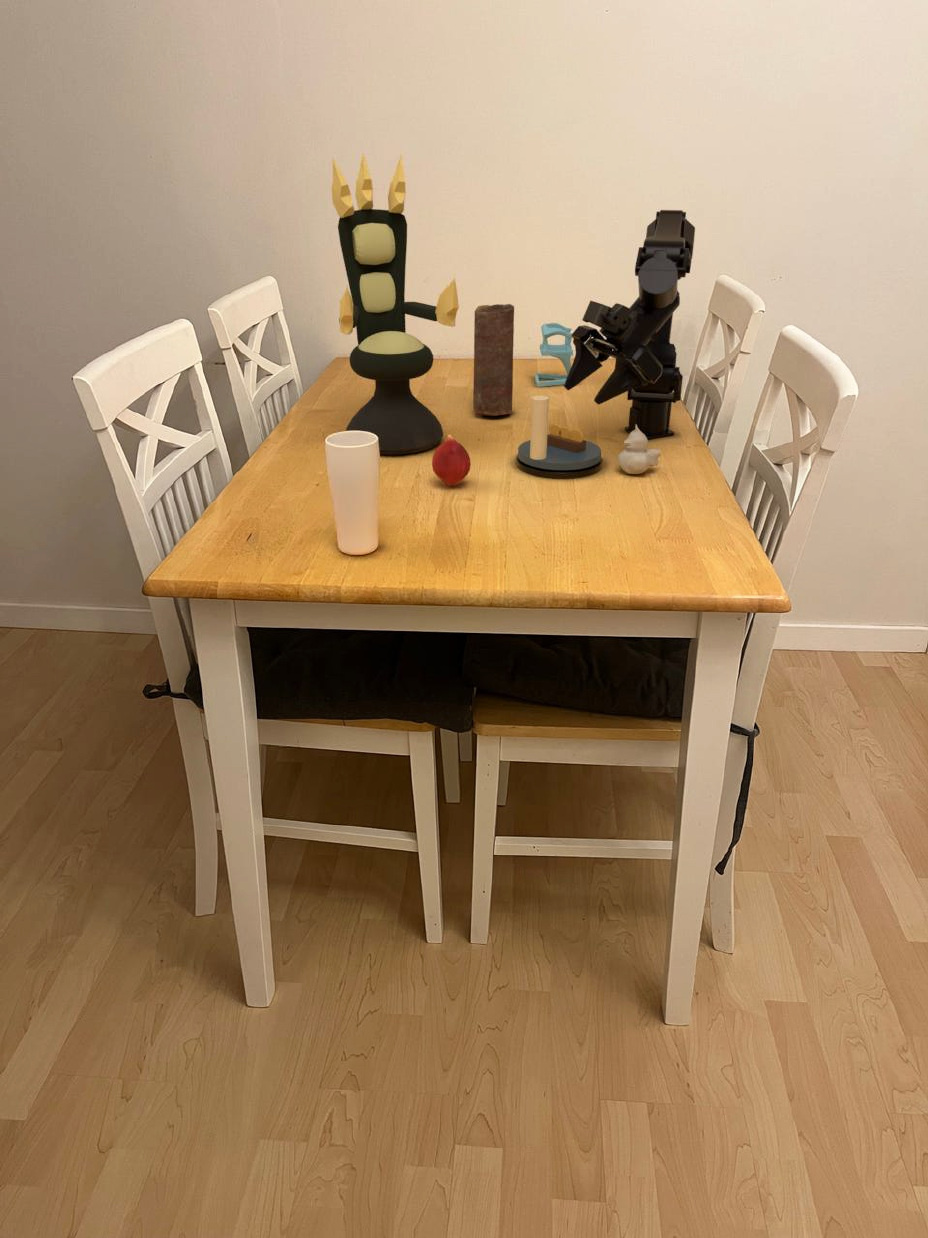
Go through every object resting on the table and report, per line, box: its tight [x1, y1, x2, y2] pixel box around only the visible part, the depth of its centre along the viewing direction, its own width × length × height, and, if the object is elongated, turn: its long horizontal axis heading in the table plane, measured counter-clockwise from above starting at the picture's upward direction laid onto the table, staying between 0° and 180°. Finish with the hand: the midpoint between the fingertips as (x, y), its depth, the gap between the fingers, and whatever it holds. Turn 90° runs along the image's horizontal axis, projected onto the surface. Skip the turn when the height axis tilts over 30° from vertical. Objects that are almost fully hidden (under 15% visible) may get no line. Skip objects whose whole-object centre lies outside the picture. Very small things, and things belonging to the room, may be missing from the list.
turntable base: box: [515, 454, 604, 480], centre depth 156 cm, size 14×14×1 cm
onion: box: [431, 434, 471, 487], centre depth 146 cm, size 6×6×8 cm
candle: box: [472, 303, 515, 417], centre depth 176 cm, size 8×7×20 cm
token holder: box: [517, 395, 602, 470], centre depth 153 cm, size 13×13×11 cm
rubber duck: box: [617, 425, 661, 475], centre depth 151 cm, size 5×7×8 cm
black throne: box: [330, 152, 460, 456], centre depth 157 cm, size 19×22×45 cm
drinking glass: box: [324, 430, 381, 556], centre depth 123 cm, size 7×7×15 cm
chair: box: [534, 322, 574, 388], centre depth 199 cm, size 8×8×12 cm
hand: (580, 395), depth 151 cm, fingers open, 9 cm apart
